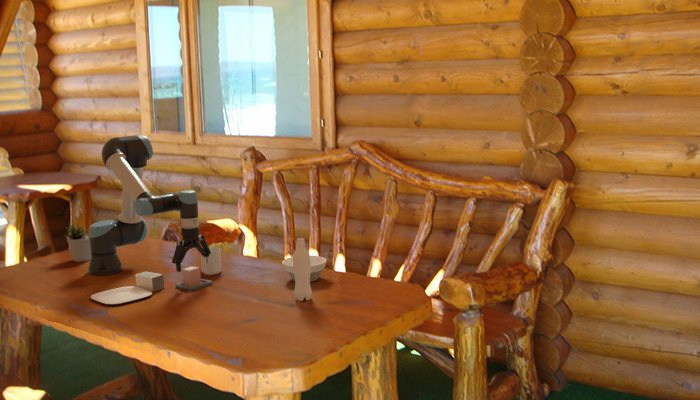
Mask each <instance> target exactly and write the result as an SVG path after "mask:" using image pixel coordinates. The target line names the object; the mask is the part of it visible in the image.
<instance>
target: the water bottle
mask: <svg viewBox="0 0 700 400" xmlns="http://www.w3.org/2000/svg"><path fill="white" fill-rule="evenodd" d="M305 245H306V241H305V238H303V237H298V238H296V249H295V250H294V253H293V256H292V257H293V273H294V276H295V281H294V282H295V283H294V284H295V286H294V291H293V295H294V298H295V300H296V301H298V302H303V301H304V299H305V301H306V302H307V301H310V300H311V298H312V294H313V291H312V287H311V282H310V273H311V268H310V256H311V255H310V253H309V252H308V250H307V249H306V246H305Z"/></svg>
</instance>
